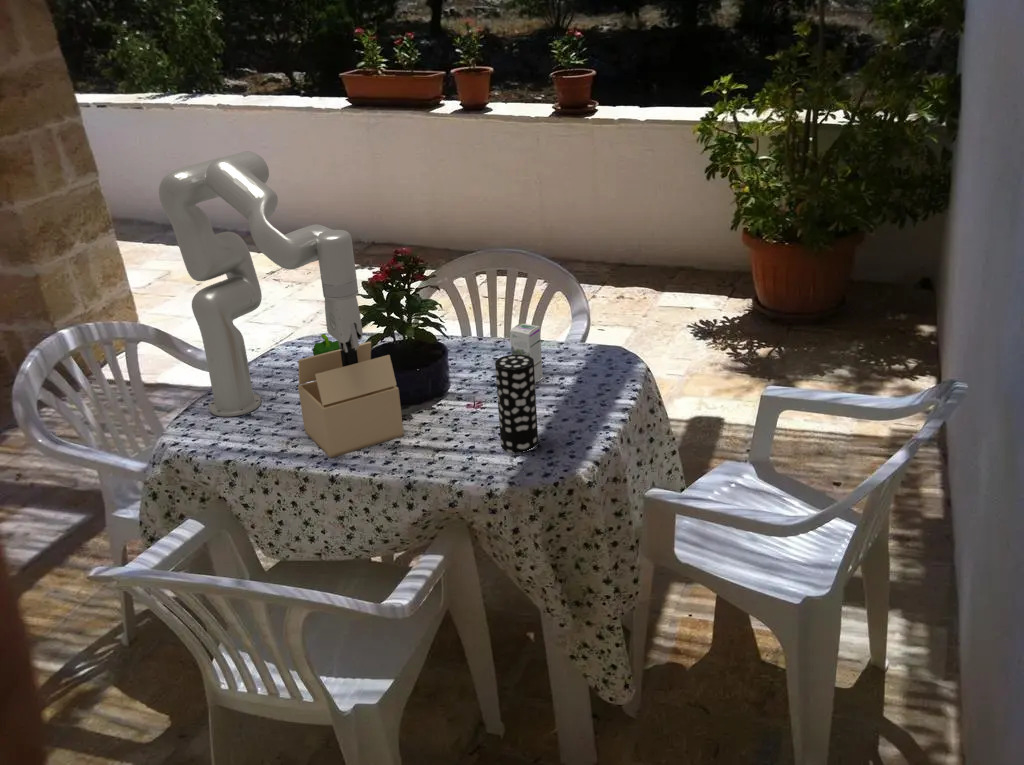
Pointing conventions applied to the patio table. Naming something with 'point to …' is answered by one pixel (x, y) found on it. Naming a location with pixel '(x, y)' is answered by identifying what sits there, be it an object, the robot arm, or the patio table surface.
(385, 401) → the carton
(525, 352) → the syrup box
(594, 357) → the patio table surface
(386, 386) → the cardboard box flap
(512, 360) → the spotted tube
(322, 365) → the flap
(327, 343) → the bell pepper
